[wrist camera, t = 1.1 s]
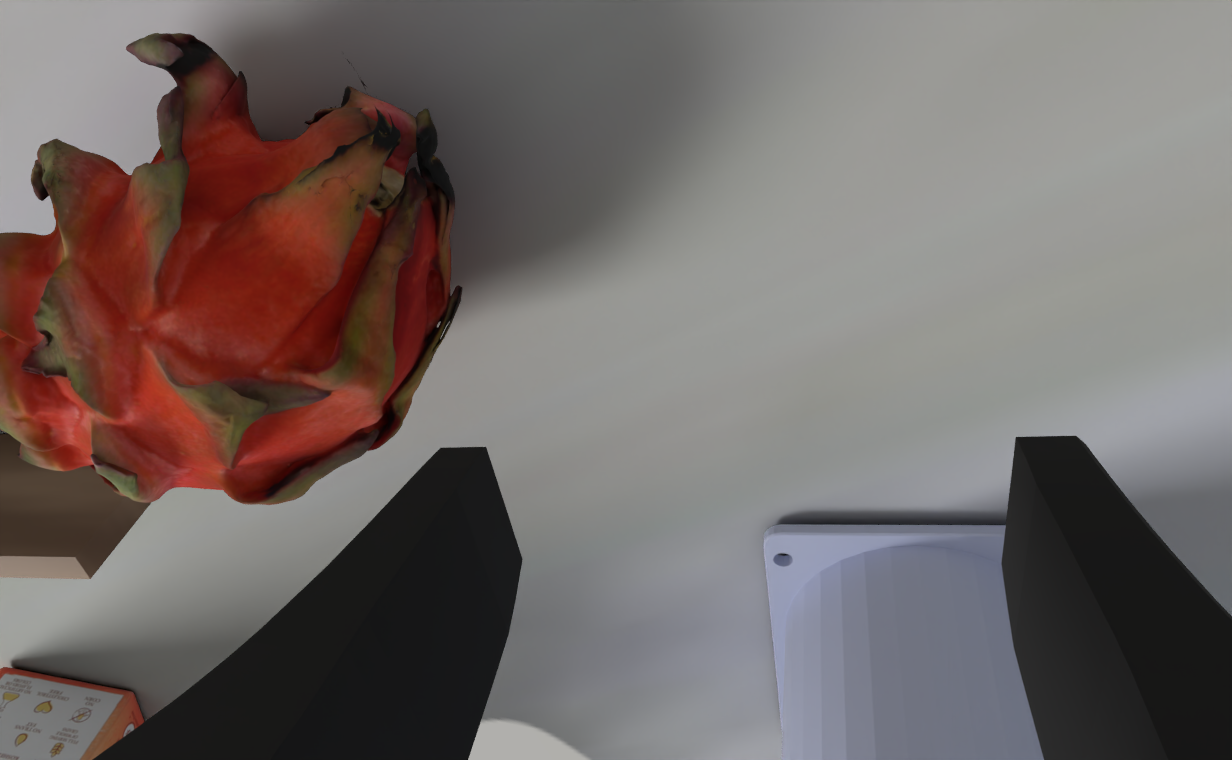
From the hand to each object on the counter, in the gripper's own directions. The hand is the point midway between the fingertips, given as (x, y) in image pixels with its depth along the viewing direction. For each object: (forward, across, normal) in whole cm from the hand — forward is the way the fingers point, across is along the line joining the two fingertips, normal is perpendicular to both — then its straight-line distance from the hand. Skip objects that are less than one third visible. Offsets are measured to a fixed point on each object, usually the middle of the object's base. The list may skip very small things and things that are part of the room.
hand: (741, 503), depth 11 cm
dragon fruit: (+11, +11, +1) cm, 15 cm away
